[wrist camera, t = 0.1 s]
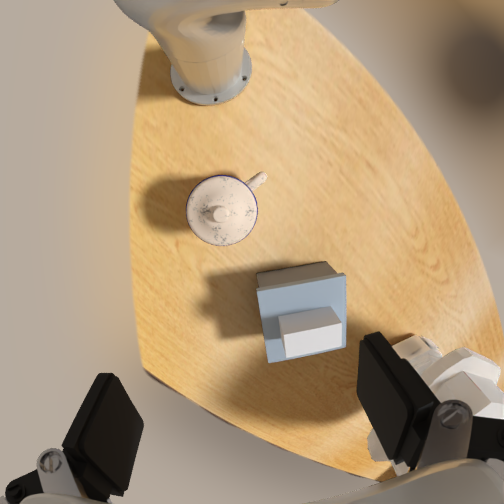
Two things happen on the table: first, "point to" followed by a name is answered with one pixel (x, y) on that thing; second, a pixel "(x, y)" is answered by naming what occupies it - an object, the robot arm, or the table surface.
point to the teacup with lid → (223, 208)
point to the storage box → (294, 274)
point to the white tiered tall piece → (449, 383)
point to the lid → (303, 317)
